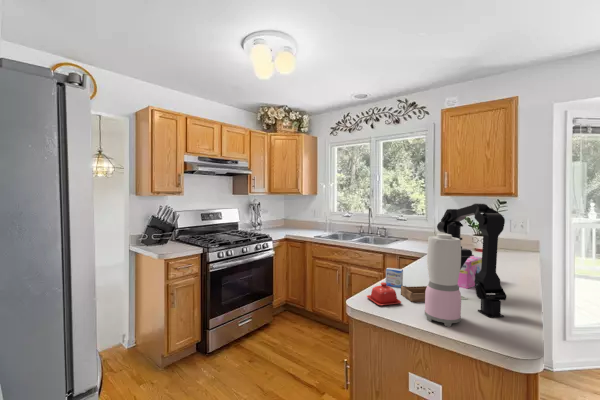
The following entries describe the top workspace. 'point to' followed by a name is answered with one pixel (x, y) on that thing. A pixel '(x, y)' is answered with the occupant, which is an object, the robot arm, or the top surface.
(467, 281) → the gum box
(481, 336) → the top surface
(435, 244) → the blender
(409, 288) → the walnut box
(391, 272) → the medicine box
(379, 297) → the butter dish
